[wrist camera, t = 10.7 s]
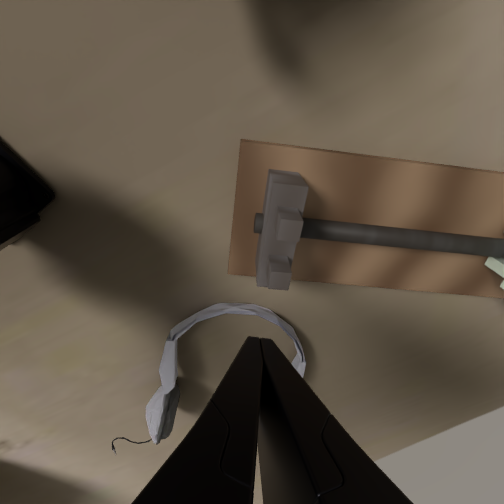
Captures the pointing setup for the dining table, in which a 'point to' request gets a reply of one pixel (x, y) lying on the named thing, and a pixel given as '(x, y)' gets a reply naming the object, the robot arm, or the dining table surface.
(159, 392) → the headphones
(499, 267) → the pale green box
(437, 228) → the cord board
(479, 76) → the dining table surface
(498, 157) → the dining table surface
